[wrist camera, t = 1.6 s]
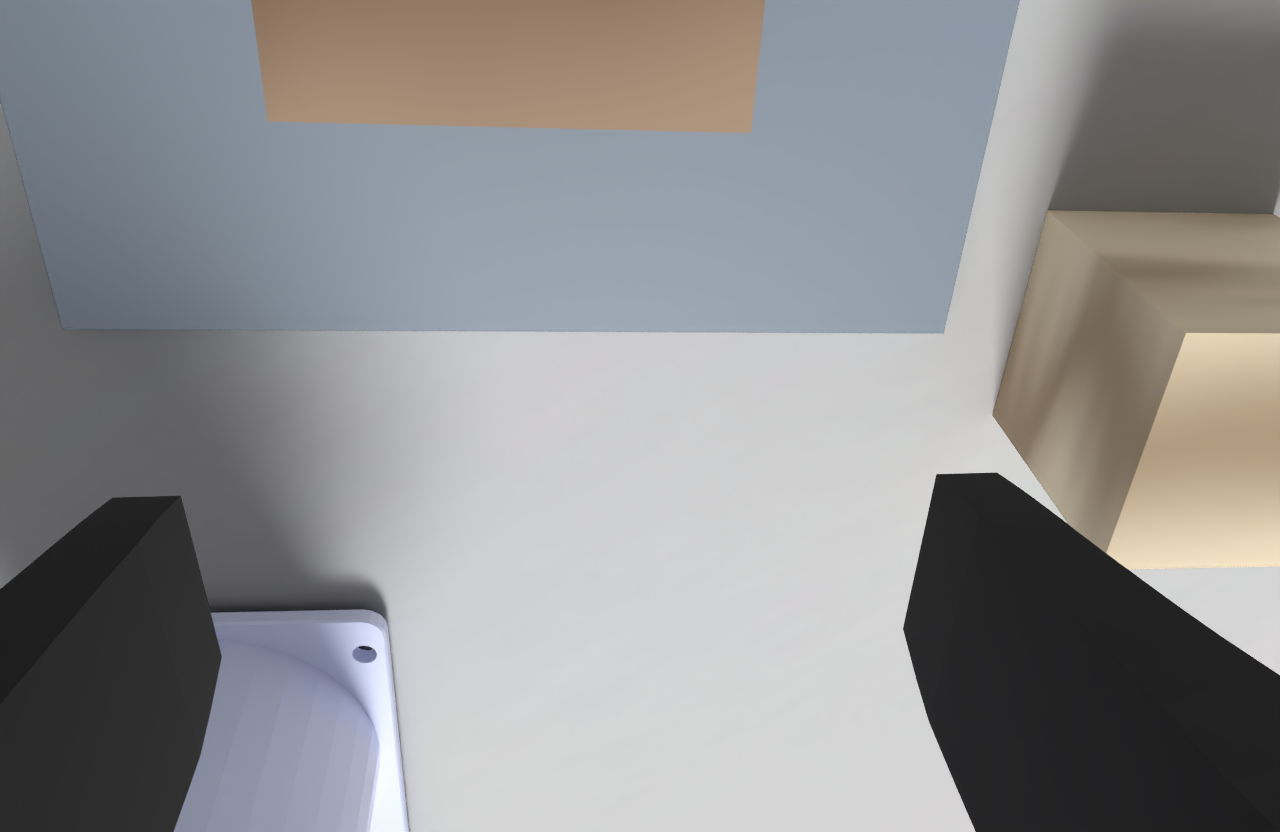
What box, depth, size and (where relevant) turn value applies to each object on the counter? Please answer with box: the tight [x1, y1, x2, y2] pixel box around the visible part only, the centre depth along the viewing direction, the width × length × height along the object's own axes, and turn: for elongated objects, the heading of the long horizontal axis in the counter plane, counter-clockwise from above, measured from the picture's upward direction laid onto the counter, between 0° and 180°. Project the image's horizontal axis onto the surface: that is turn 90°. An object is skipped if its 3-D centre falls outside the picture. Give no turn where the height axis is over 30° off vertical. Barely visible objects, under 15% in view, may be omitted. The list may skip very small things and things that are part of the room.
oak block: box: [993, 210, 1280, 569], centre depth 19 cm, size 4×4×5 cm
